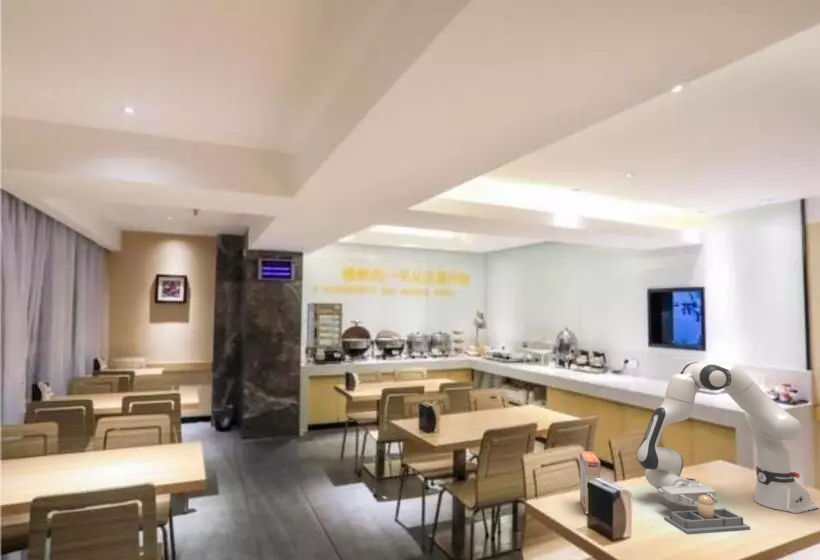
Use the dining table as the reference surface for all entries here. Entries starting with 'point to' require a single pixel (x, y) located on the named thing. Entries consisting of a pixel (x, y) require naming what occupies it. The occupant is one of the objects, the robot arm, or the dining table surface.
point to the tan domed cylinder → (705, 507)
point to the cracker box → (587, 473)
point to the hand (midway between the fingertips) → (704, 501)
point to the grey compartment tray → (706, 521)
